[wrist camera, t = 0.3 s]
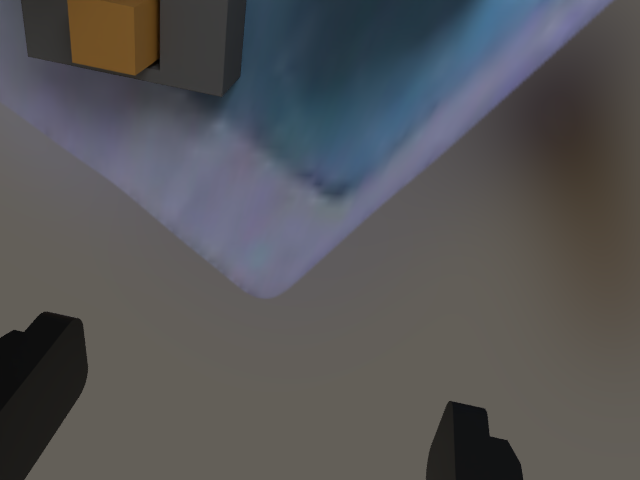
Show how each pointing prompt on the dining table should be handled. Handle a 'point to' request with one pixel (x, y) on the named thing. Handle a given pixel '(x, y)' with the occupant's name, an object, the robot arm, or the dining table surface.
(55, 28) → the block
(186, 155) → the dining table surface
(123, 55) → the orange cardboard box
